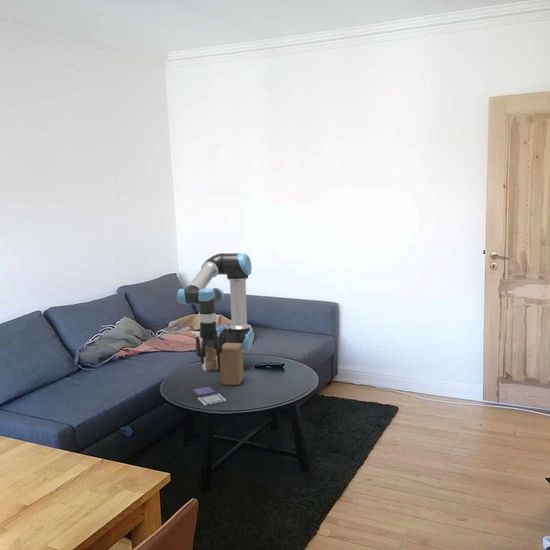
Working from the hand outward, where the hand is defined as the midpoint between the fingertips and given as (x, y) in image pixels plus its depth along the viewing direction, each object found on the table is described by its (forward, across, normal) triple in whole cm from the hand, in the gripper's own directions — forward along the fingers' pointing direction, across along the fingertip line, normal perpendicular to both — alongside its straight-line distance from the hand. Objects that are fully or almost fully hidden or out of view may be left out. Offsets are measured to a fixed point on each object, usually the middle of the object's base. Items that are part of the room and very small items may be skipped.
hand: (210, 368), depth 276 cm
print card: (+16, 0, 0) cm, 16 cm away
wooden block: (+16, +18, +18) cm, 30 cm away
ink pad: (+16, 0, +11) cm, 19 cm away
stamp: (0, 0, 0) cm, 0 cm away
